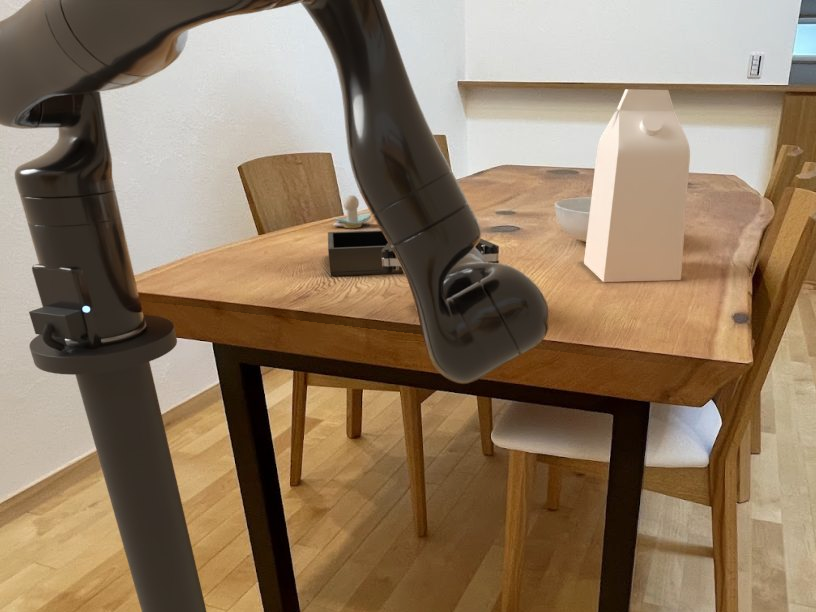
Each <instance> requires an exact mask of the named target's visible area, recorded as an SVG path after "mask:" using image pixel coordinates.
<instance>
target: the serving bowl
mask: <svg viewBox="0 0 816 612" xmlns="http://www.w3.org/2000/svg"><path fill="white" fill-rule="evenodd" d="M591 197H592V196H584V197H583V196H580V197H570V198H564V199H559V200H557V201H556V202H554V214H555V217H556V221H557V223H558V225H559V227H560V228H561V229H562V231H564V233H566V234H567V236H570V237H572V238H574V239H576V240H578V241H582V242H584V243H586V240H587V232H588V223H589V215H590V206H591Z"/></svg>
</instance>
